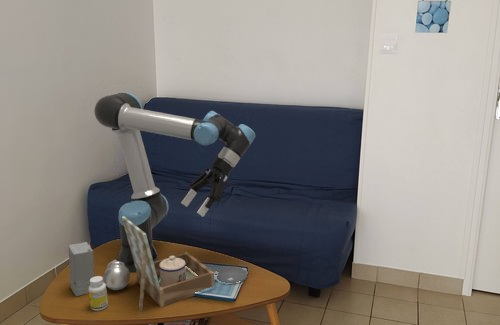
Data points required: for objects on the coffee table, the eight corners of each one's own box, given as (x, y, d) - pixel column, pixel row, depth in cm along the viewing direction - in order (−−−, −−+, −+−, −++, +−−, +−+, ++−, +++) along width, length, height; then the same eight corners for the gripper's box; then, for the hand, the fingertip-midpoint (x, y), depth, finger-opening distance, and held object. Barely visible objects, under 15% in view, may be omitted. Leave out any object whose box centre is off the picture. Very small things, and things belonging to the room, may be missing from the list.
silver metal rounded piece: (134, 281, 165) (132, 255, 162) (127, 294, 156) (125, 267, 153) (109, 281, 165) (106, 255, 162) (100, 295, 156) (98, 268, 153)
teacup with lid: (181, 295, 155) (179, 263, 152) (156, 292, 157) (153, 260, 154) (193, 278, 166) (192, 248, 163) (170, 275, 168) (168, 246, 166)
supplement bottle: (92, 302, 151) (89, 275, 149) (109, 301, 152) (107, 274, 149) (88, 311, 146) (85, 283, 144) (106, 310, 147) (103, 282, 144)
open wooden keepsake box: (119, 289, 161) (113, 217, 154) (187, 268, 175) (184, 202, 169) (141, 315, 145) (135, 237, 138) (214, 290, 159) (212, 218, 153)
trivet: (207, 274, 169) (207, 272, 169) (235, 265, 176) (235, 263, 175) (225, 288, 159) (225, 285, 159) (253, 278, 166) (253, 275, 166)
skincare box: (70, 287, 161) (65, 245, 157) (90, 281, 165) (86, 240, 161) (76, 297, 154) (71, 254, 150) (97, 291, 158) (93, 248, 154)
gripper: (249, 174, 162) (214, 224, 158) (216, 162, 183) (184, 206, 179) (235, 162, 158) (199, 213, 154) (203, 151, 179) (170, 196, 175)
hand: (191, 209), depth 166 cm, fingers open, 13 cm apart
